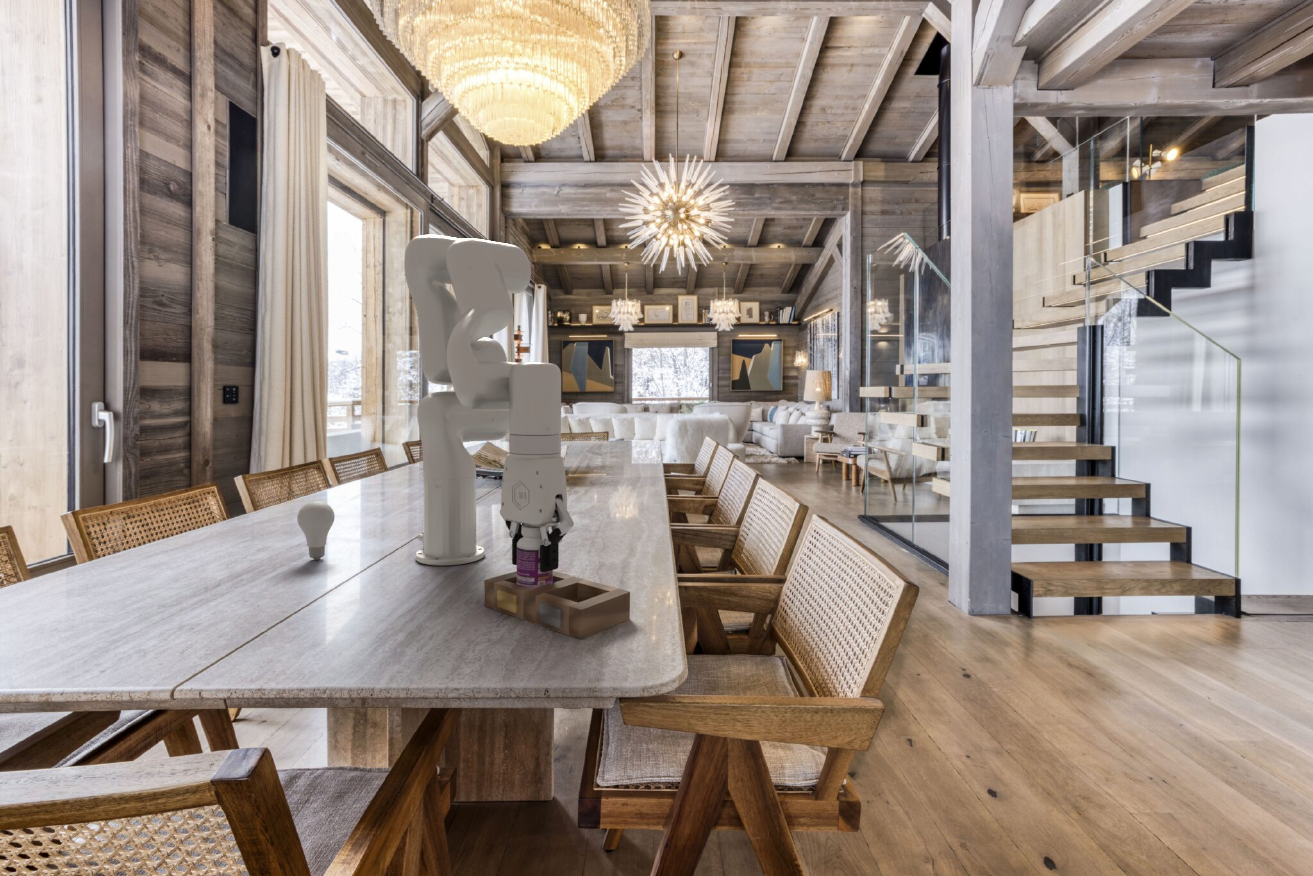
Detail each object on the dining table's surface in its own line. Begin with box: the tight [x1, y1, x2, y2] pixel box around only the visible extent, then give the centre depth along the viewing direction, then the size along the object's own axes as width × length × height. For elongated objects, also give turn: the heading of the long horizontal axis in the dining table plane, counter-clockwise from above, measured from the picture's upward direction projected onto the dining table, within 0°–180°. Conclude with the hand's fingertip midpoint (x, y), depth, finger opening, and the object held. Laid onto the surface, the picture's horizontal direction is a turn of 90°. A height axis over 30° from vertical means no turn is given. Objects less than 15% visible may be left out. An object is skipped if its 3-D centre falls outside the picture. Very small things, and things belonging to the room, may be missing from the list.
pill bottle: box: [516, 524, 554, 589], centre depth 97 cm, size 5×5×10 cm
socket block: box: [483, 570, 631, 640], centre depth 95 cm, size 20×10×4 cm, turn 53°
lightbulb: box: [297, 500, 335, 561], centre depth 120 cm, size 6×6×11 cm
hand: (535, 565), depth 97 cm, fingers closed on pill bottle, 5 cm apart
